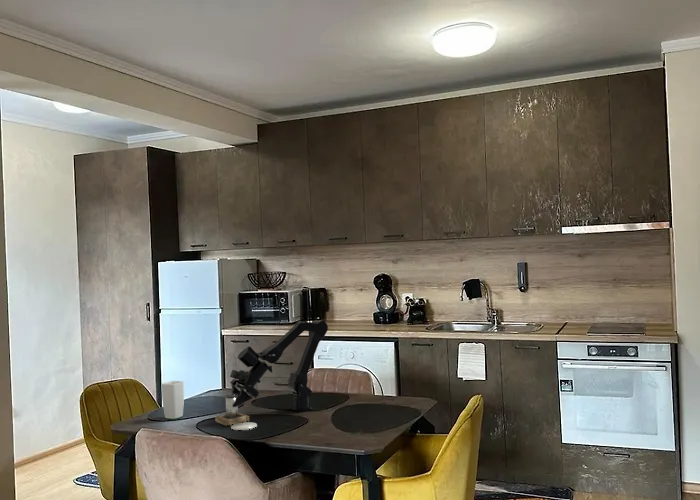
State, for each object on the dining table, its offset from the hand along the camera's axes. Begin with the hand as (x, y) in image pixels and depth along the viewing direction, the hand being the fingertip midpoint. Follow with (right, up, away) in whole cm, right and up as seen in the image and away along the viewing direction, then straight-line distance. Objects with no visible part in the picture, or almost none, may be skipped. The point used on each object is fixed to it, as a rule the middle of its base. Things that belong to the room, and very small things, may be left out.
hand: (230, 405), depth 260 cm
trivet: (+7, -6, -10) cm, 14 cm away
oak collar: (+1, -7, 0) cm, 7 cm away
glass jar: (+1, -7, 0) cm, 7 cm away
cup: (-26, -8, +10) cm, 29 cm away
